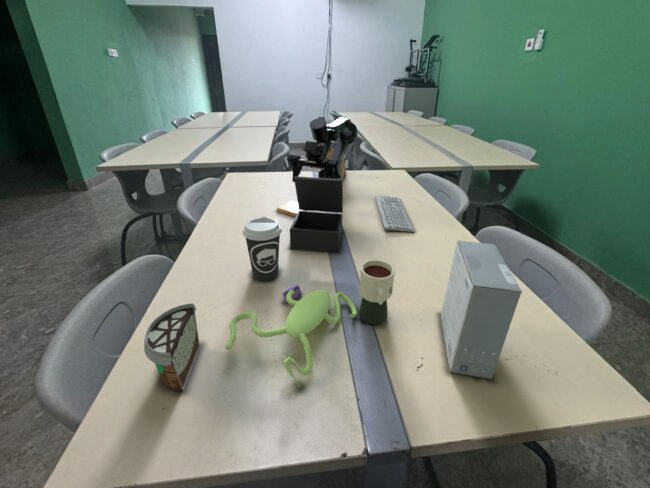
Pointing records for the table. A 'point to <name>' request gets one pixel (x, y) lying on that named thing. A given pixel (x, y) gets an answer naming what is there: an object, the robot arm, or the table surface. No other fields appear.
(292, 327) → the figurine
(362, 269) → the character mug
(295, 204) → the toast
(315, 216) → the open black box
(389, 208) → the keyboard
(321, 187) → the lid
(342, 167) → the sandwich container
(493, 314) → the hard drive box
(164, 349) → the food container
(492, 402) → the table surface
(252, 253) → the coffee cup
